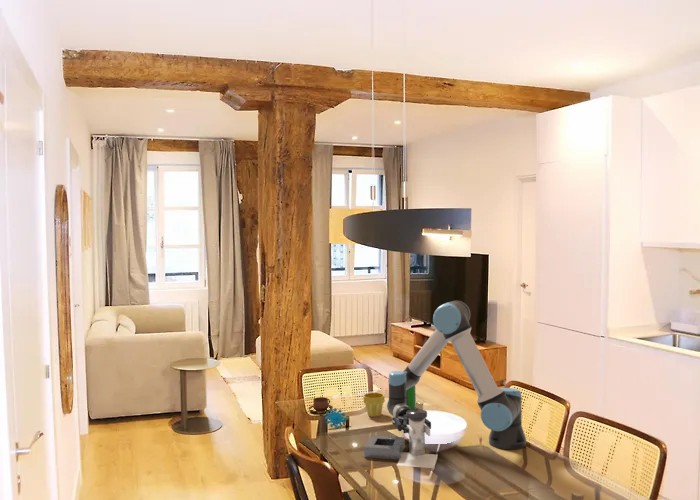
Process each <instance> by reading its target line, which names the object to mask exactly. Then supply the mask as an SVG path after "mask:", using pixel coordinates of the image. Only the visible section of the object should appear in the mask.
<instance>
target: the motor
mask: <svg viewBox="0 0 700 500" xmlns="http://www.w3.org/2000/svg"><path fill="white" fill-rule="evenodd" d="M416 400H417V399H416V385H415V386H412V387H411V388H409V389H408V390H406V405H407V406H408V407H409V408H410V409H417V404H416V403H417V401H416Z"/></svg>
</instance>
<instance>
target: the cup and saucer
mask: <svg viewBox="0 0 700 500" xmlns="http://www.w3.org/2000/svg"><path fill="white" fill-rule="evenodd" d="M330 404H331V400H330V399H329V398H328V397H325V396H322V397H321V396H320V397H315V398H313V405H310V406H309V407H308V410H309V411H310V412H312V413H314V412H317V413H316V414H324V413H323V412H326V413H327V412H329V413H330V411H329V410H327V408H328V407H329V408H330V409H332V410H334V407H333V405H330ZM312 407H314V409H315V410H316V411H313V410H310V409H311V408H312ZM325 410H326V411H325Z"/></svg>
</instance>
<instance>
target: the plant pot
mask: <svg viewBox="0 0 700 500" xmlns="http://www.w3.org/2000/svg"><path fill="white" fill-rule="evenodd" d="M362 396H363V397H362V399H363V403H364V405H365V409H366V413H367V416H368V417H372V418H376V417H380V416H382V413H383V405H384V403H385V395H384V393H382V392H367V393H364V394H363V395H362Z"/></svg>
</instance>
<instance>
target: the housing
mask: <svg viewBox="0 0 700 500" xmlns="http://www.w3.org/2000/svg"><path fill="white" fill-rule="evenodd" d="M405 440H406V437H404V436H401V437H400V436H390V435H389V436H388V435H386V436H385V435H371V434H370V437H369V439H368V440H367V442H366V443H365V445H364V446H363V456H364V458H371V459H381V460H382V459H385V460H398V461H399V459H400V457H401V455H402V453H403V452H404V451H405V448H406V441H405Z"/></svg>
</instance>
